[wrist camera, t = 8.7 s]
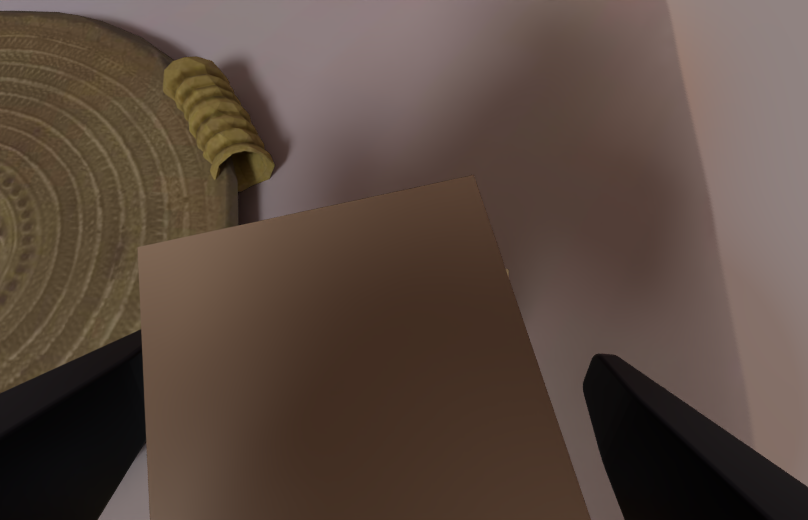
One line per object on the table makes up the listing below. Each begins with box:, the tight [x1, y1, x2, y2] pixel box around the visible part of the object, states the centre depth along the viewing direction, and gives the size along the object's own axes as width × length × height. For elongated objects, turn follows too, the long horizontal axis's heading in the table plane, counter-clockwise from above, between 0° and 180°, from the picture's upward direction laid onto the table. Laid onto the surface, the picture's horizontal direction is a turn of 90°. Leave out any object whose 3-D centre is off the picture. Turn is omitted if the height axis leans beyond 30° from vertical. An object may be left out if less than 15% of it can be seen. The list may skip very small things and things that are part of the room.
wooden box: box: [138, 175, 591, 520], centre depth 9 cm, size 6×4×12 cm
